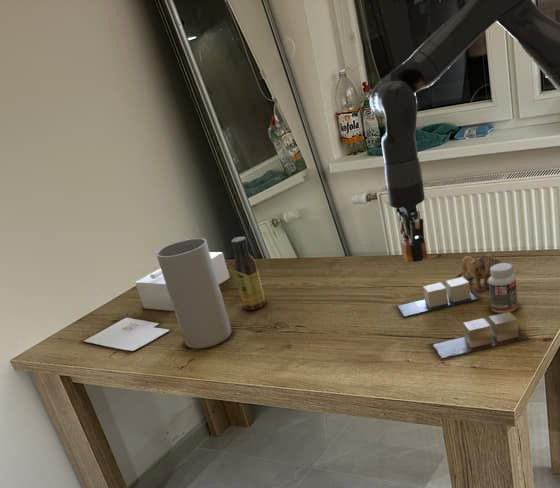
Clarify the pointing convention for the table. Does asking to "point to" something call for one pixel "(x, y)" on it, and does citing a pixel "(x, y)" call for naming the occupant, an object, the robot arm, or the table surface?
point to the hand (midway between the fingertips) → (415, 257)
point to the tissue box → (156, 289)
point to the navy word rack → (440, 297)
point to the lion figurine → (478, 268)
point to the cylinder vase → (194, 292)
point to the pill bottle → (502, 288)
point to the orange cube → (407, 250)
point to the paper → (127, 334)
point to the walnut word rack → (482, 336)
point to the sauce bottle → (247, 275)
